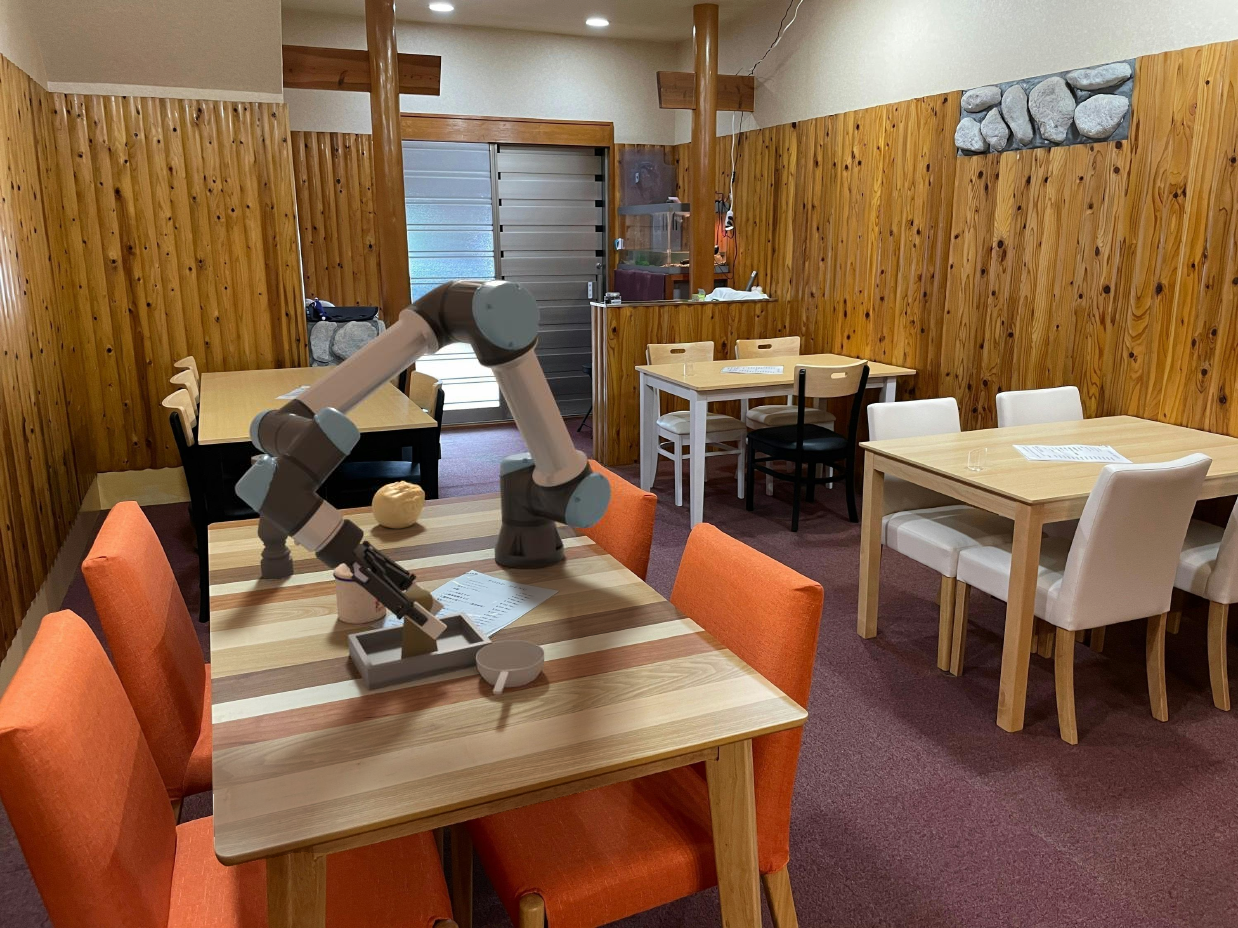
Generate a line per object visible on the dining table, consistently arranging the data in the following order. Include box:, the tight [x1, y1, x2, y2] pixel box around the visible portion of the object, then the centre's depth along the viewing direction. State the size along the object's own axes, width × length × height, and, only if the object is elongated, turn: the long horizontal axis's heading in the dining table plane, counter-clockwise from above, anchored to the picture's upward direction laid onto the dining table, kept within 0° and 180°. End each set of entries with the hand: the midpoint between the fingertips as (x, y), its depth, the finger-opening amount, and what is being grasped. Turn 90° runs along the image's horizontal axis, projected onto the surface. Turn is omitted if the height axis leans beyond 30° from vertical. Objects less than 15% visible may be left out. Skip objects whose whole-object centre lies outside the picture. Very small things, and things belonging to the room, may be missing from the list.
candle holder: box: [250, 453, 295, 580], centre depth 179 cm, size 6×6×25 cm
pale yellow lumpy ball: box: [371, 480, 426, 529], centre depth 214 cm, size 11×12×11 cm
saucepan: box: [476, 639, 545, 695], centre depth 136 cm, size 11×18×4 cm, turn 178°
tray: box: [347, 611, 493, 691], centre depth 145 cm, size 20×14×4 cm
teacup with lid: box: [332, 564, 387, 625], centre depth 162 cm, size 12×9×12 cm
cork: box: [400, 589, 438, 659], centre depth 143 cm, size 6×6×11 cm
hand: (439, 621), depth 144 cm, fingers open, 8 cm apart
